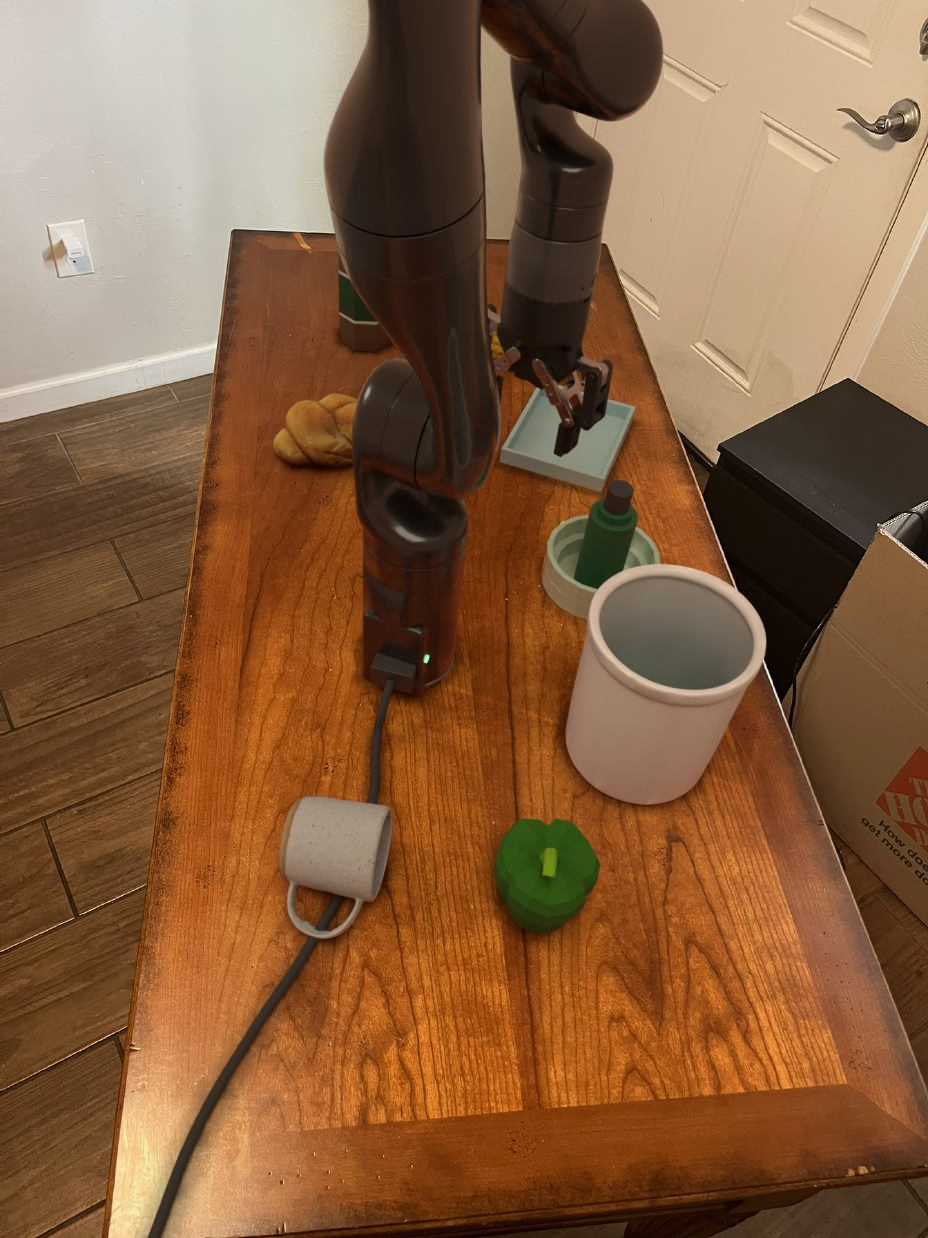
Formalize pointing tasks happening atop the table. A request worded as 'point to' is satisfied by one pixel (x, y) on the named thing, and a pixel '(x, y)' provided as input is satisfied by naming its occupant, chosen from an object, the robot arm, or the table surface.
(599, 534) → the bottle
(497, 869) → the bell pepper
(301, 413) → the bread roll
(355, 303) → the beer bottle
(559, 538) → the bowl
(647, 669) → the utensil holder
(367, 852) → the ceramic mug
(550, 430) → the tray
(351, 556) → the table surface
